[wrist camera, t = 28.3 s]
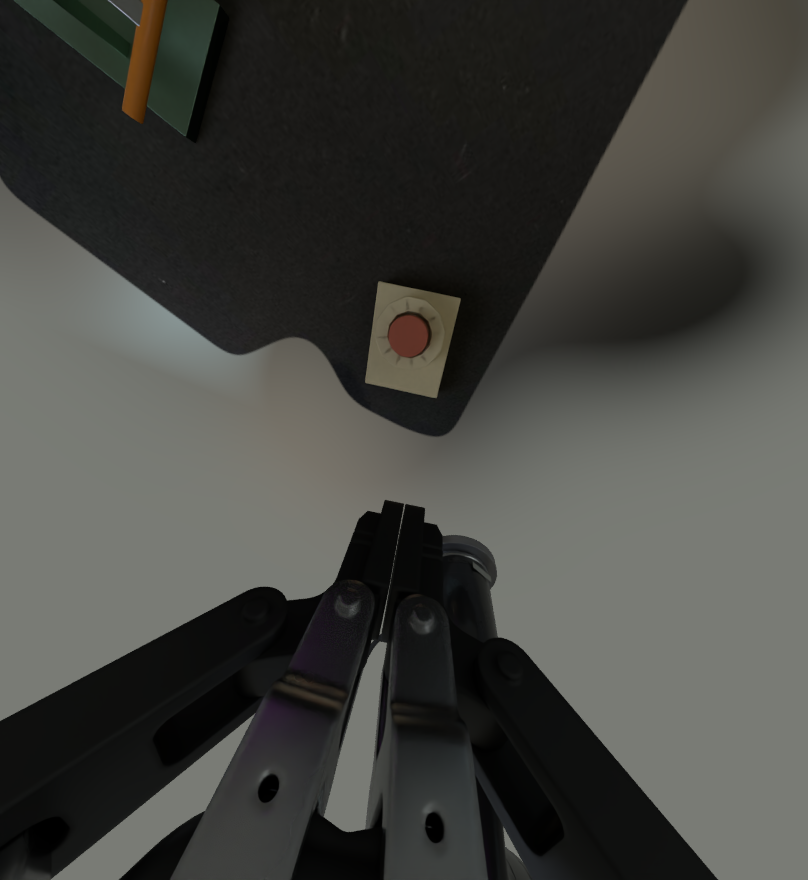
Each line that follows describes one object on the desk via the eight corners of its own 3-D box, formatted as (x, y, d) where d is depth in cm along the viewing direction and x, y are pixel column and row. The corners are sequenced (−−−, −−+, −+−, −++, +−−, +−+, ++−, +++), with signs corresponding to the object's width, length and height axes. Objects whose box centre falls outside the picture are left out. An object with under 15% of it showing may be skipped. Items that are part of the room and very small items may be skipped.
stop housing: (436, 392, 34) (436, 403, 31) (369, 378, 35) (360, 387, 31) (459, 298, 30) (462, 298, 26) (382, 282, 30) (374, 279, 27)
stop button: (424, 357, 29) (423, 360, 28) (388, 350, 29) (385, 352, 28) (432, 318, 28) (431, 319, 26) (394, 311, 28) (391, 311, 26)
